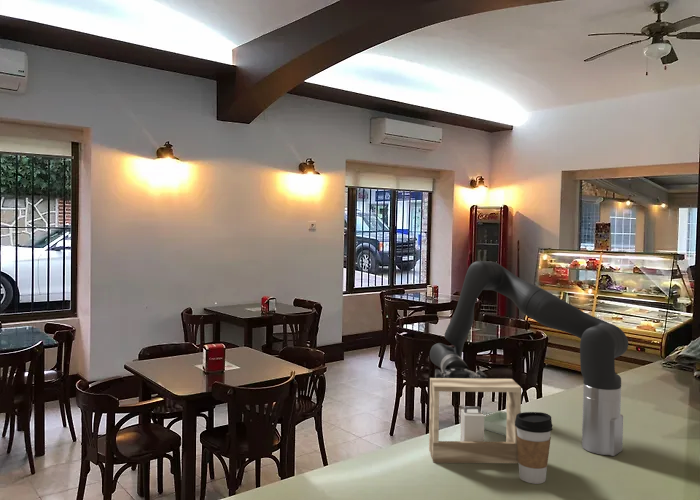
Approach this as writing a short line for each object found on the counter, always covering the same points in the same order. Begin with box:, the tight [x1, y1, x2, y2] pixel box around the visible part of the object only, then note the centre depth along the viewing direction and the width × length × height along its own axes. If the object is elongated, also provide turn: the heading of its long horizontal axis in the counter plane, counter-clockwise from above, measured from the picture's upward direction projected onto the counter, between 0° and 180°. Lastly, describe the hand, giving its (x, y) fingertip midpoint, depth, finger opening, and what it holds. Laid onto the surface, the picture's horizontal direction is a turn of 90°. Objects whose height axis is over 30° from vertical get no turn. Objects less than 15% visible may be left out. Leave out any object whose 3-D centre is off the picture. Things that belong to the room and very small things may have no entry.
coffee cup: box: [515, 411, 554, 485], centre depth 133 cm, size 8×8×15 cm
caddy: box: [459, 405, 485, 442], centre depth 147 cm, size 5×5×12 cm
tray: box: [484, 410, 507, 437], centre depth 167 cm, size 12×12×2 cm
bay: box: [428, 377, 522, 464], centre depth 146 cm, size 8×22×19 cm, turn 90°
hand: (464, 383), depth 159 cm, fingers open, 8 cm apart
